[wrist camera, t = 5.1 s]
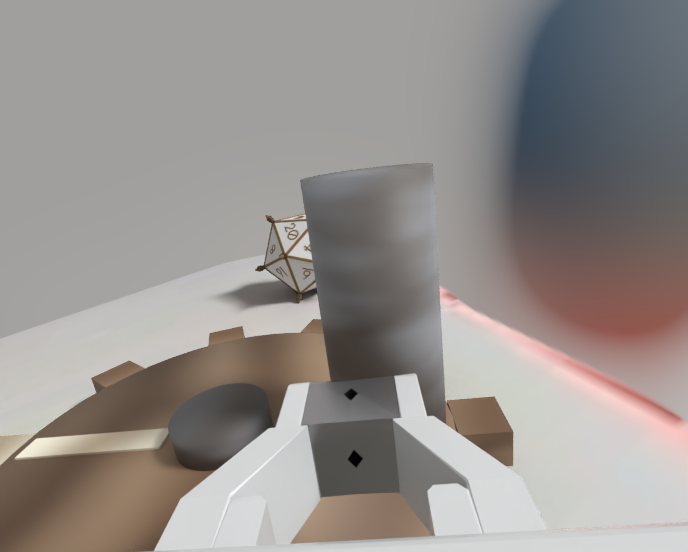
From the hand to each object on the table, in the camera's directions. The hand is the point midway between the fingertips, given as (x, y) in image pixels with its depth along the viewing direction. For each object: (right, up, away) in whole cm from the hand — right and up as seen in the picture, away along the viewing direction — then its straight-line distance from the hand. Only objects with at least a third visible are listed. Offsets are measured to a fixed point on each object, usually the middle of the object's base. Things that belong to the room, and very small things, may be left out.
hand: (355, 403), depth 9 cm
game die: (-3, +1, +29) cm, 30 cm away
